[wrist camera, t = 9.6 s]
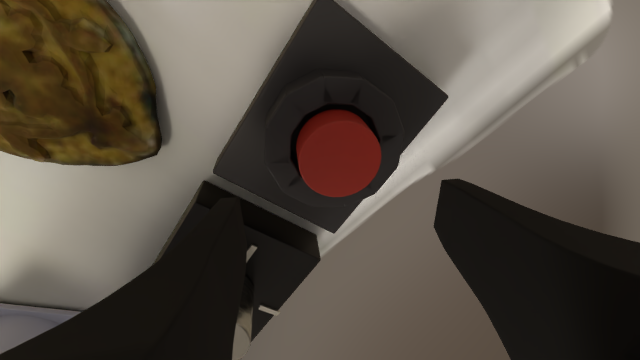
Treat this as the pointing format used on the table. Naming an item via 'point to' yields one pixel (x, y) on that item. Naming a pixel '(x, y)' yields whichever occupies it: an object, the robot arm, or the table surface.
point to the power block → (320, 95)
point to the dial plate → (258, 251)
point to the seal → (74, 85)
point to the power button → (337, 153)
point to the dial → (244, 321)
